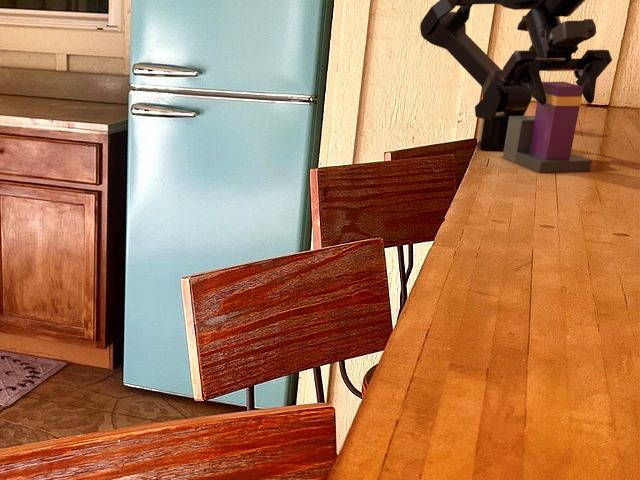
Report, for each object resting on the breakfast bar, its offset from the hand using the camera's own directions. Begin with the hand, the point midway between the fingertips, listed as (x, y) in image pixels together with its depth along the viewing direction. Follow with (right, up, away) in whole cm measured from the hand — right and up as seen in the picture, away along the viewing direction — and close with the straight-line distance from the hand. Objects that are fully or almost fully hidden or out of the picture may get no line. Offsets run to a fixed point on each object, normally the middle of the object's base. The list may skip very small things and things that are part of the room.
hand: (568, 102), depth 161 cm
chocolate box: (-1, -8, +6) cm, 10 cm away
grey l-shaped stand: (-1, -9, +9) cm, 13 cm away
